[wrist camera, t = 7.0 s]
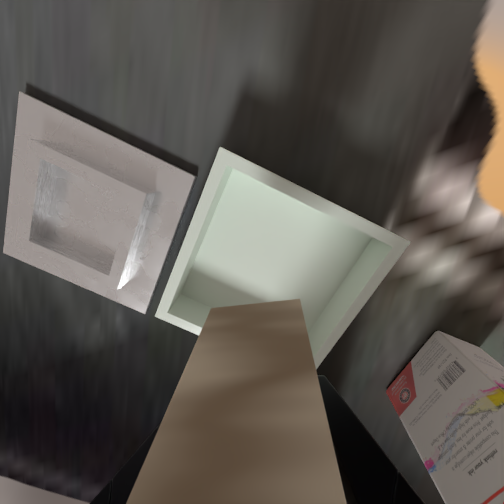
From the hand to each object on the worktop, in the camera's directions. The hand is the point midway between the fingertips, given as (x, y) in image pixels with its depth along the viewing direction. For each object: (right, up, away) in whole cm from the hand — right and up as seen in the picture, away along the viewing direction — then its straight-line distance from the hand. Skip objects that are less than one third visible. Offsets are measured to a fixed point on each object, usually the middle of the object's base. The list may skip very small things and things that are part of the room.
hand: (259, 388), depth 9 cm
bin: (+1, +4, +12) cm, 13 cm away
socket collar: (-14, +8, +12) cm, 20 cm away
